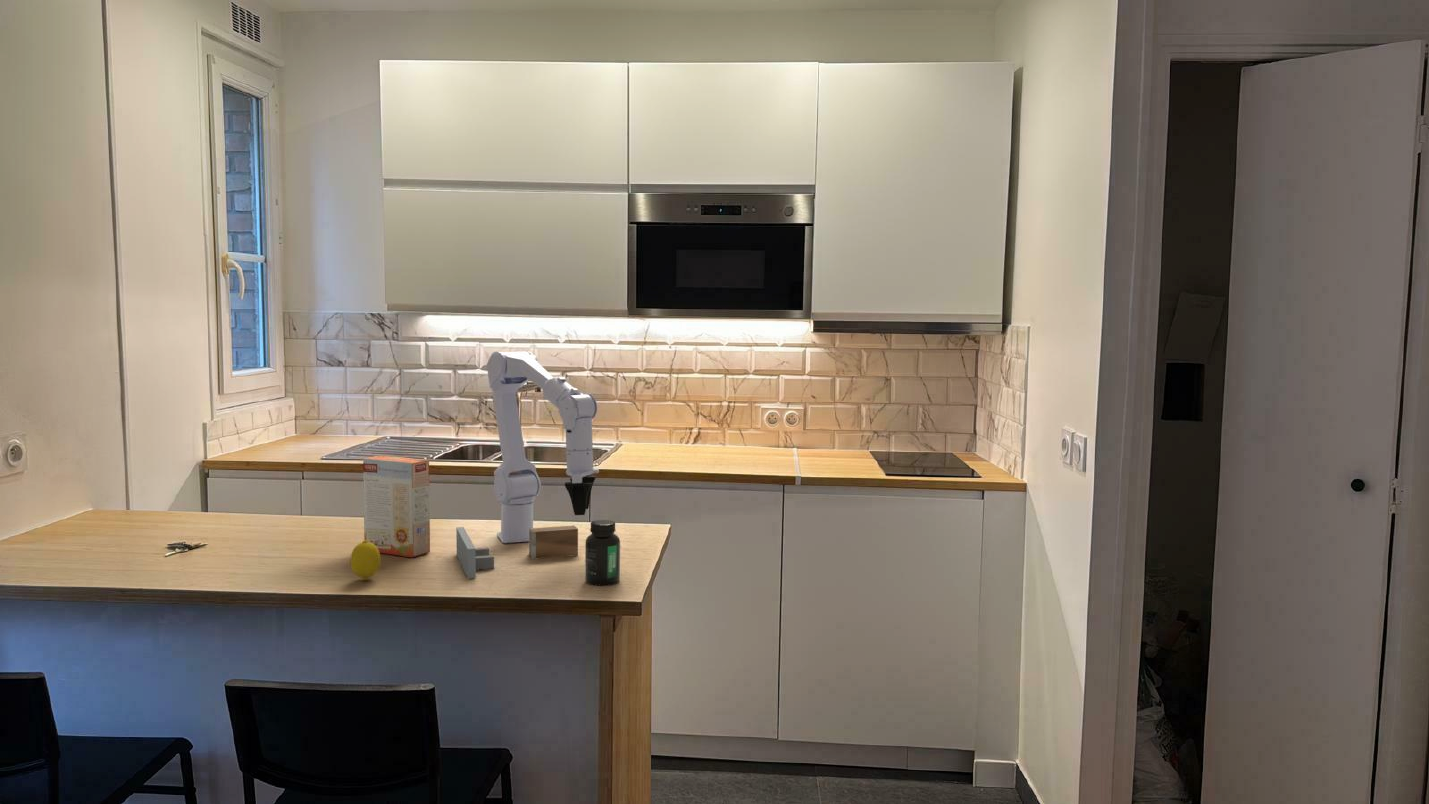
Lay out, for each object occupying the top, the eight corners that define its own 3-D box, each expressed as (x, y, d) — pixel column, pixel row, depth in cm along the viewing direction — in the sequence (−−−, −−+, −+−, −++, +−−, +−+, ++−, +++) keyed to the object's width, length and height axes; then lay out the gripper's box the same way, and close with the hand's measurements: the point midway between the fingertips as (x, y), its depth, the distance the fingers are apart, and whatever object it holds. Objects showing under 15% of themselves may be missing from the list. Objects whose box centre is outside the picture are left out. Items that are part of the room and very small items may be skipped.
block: (529, 555, 207) (529, 528, 206) (574, 551, 210) (574, 525, 210) (532, 559, 203) (532, 532, 203) (577, 555, 207) (578, 529, 206)
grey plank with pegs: (456, 554, 206) (456, 527, 205) (484, 552, 208) (484, 525, 208) (467, 578, 187) (467, 549, 187) (498, 576, 190) (498, 546, 189)
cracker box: (431, 552, 207) (430, 458, 205) (412, 559, 201) (411, 462, 199) (383, 545, 213) (382, 453, 211) (363, 551, 207) (361, 457, 205)
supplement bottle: (620, 585, 185) (621, 525, 183) (585, 586, 183) (586, 526, 182) (618, 576, 191) (619, 518, 190) (584, 577, 190) (585, 518, 189)
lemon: (355, 576, 188) (354, 537, 187) (384, 576, 188) (383, 537, 187) (347, 584, 182) (346, 543, 181) (376, 584, 183) (375, 543, 182)
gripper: (594, 452, 196) (597, 517, 197) (600, 445, 211) (602, 505, 212) (561, 453, 196) (563, 518, 197) (569, 446, 211) (571, 506, 211)
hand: (581, 511), depth 204 cm, fingers open, 7 cm apart
